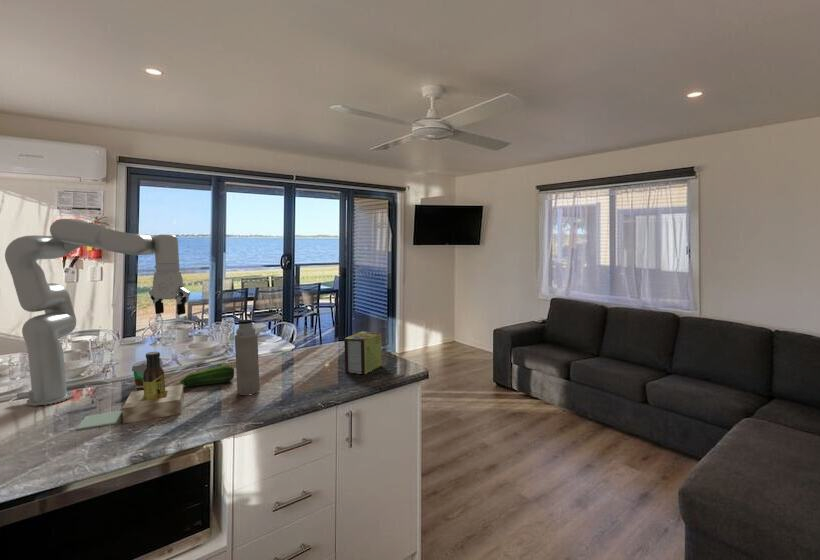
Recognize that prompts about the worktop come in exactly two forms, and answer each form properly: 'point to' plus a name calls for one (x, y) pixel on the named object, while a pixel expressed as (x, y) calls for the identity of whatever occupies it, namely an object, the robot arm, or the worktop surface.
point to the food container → (141, 374)
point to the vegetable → (209, 376)
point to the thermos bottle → (247, 358)
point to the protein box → (362, 352)
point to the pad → (100, 420)
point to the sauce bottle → (153, 378)
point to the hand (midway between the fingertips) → (170, 313)
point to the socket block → (153, 405)
